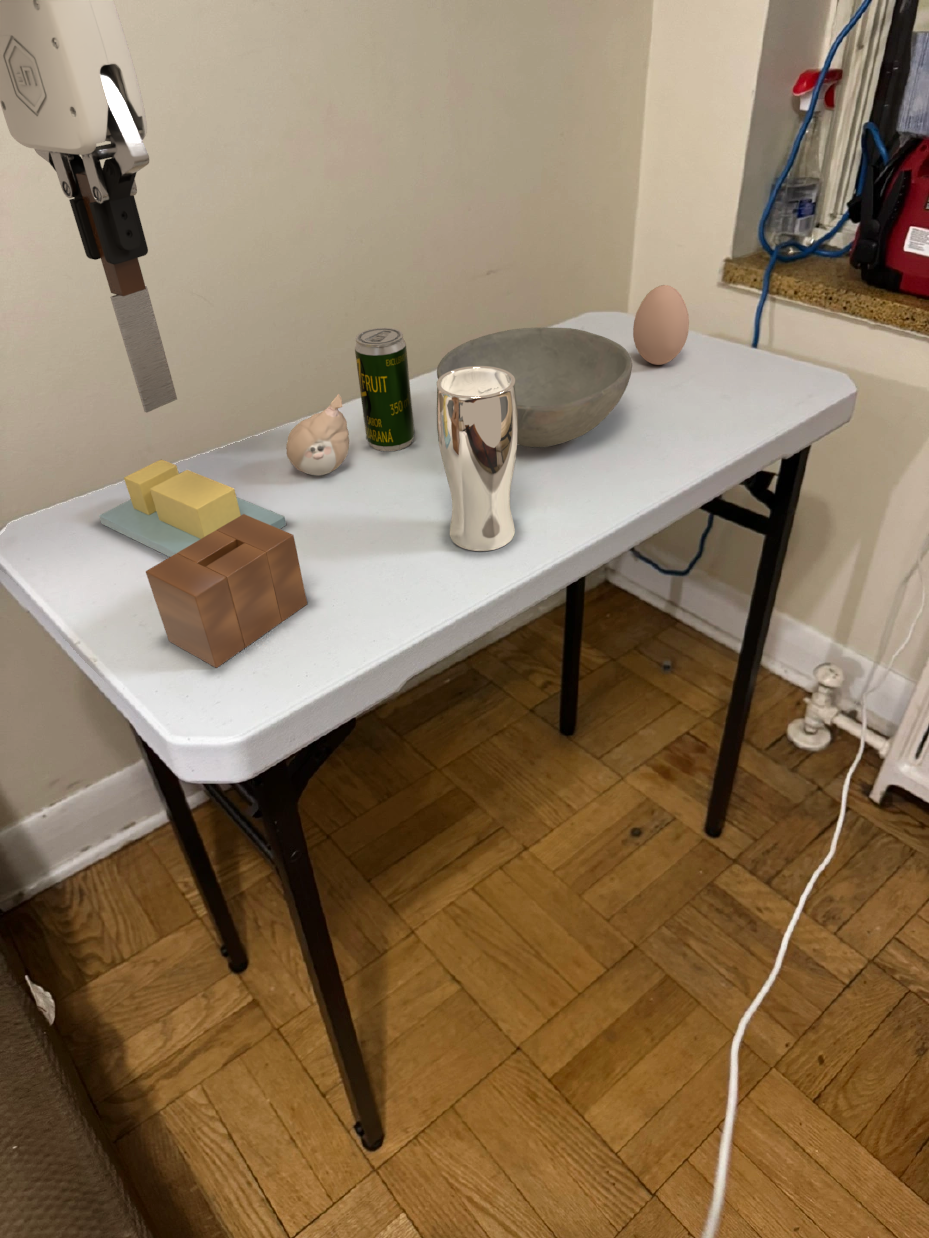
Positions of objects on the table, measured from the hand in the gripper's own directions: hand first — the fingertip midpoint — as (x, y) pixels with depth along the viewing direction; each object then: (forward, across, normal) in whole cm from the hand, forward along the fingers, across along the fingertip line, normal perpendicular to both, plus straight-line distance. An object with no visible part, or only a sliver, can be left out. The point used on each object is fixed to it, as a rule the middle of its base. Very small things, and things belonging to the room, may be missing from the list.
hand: (118, 255), depth 62 cm
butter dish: (+27, -7, +4) cm, 28 cm away
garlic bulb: (+27, -4, +19) cm, 34 cm away
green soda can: (+27, -3, +28) cm, 39 cm away
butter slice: (+26, -12, +4) cm, 29 cm away
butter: (+26, -6, +4) cm, 27 cm away
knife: (+12, 0, 0) cm, 12 cm away
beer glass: (+27, +18, +18) cm, 37 cm away
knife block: (+27, +9, -4) cm, 29 cm away
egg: (+28, +12, +63) cm, 70 cm away
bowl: (+28, +9, +39) cm, 49 cm away
